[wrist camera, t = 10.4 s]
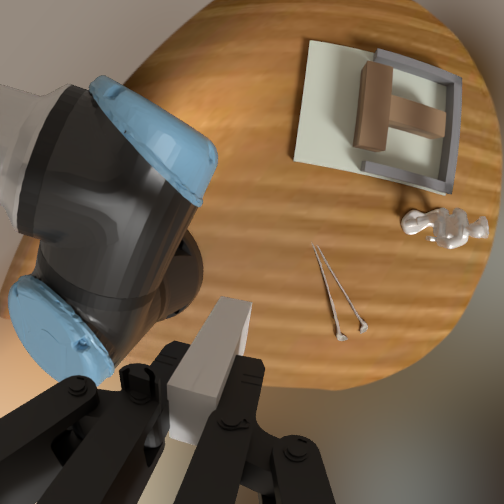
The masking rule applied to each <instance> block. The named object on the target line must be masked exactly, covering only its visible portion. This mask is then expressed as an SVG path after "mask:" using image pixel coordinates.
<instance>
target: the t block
mask: <svg viewBox="0 0 504 504" xmlns="http://www.w3.org/2000/svg"><path fill="white" fill-rule="evenodd" d="M392 81H393V67H391V66H388V65H384V64H380V63H377V62H373V61H369V60H367V62H366V64H365V65H364V67H363V68H362V70H361V77H360V88H359V98H358V107H357V116H356V124H355V132H354V139H353V146H352V147H354V148H359V149H363V150H368V151H372V152H381V151H385V150H386V142H387V134H388V127H390V128H394V129H398V130H401V131H405V132H408V133H411V134H415V135H418V136H421V137H424V138H428V139H436V138H442V137H444V136H445V124H446V112H443V111H441V110H438V109H435V108H432V107H429V106H427V105H424V104H421V103H417V102H414V101H411V100H408V99H405V98H401V97H398V96H395V95H392Z"/></svg>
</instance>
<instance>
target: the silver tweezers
mask: <svg viewBox="0 0 504 504" xmlns="http://www.w3.org/2000/svg"><path fill="white" fill-rule="evenodd" d="M312 245H313V243H312ZM317 246H318V245H317ZM313 248H314V251H315V253H316V256H317V259H318V262H319V265H320V268H321V271H322V274H323V277H324V280H325V283H326V287H327V290H328V294H329V298H330V302H331V306H332V310H333V314H334V319H335V322H336V326H337V334H336V336H337V340H339V341H344V340H347V339H348V338H347V337H346V336H345V335H343V334H341V332H340V328H339V323H338V319H337V315H336V311H335V307H334V303H333V300H332V298H331V295H330V292H329V288H328V285H327V281H326V278H325V275H324V271H323V269H322V264H321V262H320V260H319V257H318V254H317V252H316V250H315V247H314V245H313ZM318 249H319V251H320V253H321V255H322V257H323V260H324V261H325V263H326V265H327V266H328V268H329V270H330V271H331V272H332V274H333V276H334V278H335V279H336V281H337V282H338V284H339V286H340V288H341V289H342V291H343V292H344V294H345V296H346V298H347V300H348V302H349V304H350V305H351V307H352V309H353V311H354V313H355V314H356V316H357V317H358V319H359V321H360V322H361V325H362V326H361V330H360V334H362V333H364V332H366V330H367V329H368V325H367V323H366V322H365V321H363V320H362V319H361V318H360V316H359V315H358V313H357V312H356V310H355V308H354V306H353V304H352V303H351V301H350V299H349V298H348V296H347V294H346V293H345V291H344V289H343V288H342V286H341V284H340V283H339V281H338V279H337V278H336V276H335V274H334V273H333V271H332V269H331V268H330V266H329V264H328V262H327V261H326V259H325V257H324V255H323V254H322V252H321V250H320V248H319V247H318Z"/></svg>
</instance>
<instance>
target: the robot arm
mask: <svg viewBox="0 0 504 504" xmlns="http://www.w3.org/2000/svg"><path fill="white" fill-rule="evenodd" d="M89 88H90V89H89V90H86V89H83V88H80V87H77V86H74V85H71V84H66V85H64V86H62V87H60V88H58V89H57V90H55V91H53V92H51V93H49V94H47V95H44V96H38V95H35V94H32V93H29V92H25V91H22V90H19V89H15V88H12V87H8V86H5V85H1V84H0V205H1V206H3V207H4V208H5V210H6V213H7V215H8V217H9V219H10V222H11V224H12V226H13V228H14V230H15V231H16V232H18V233H21V234H24V235H27V236H31V237H34V238H36V239H40V244H39V249H38V255H37V260H36V266H35V269H34V271H33V272H32V274H30V275H25V276H21V277H20V278H19V279H18V281H17V282H16V283H14V284H13V285H12V287H11V289H10V291H9V295H8V308H9V314H10V318H11V321H12V323H13V326H14V329H15V331H16V333H17V335H18V337H19V339H20V341H21V342H22V344H23V346H24V347H25V349H26V350H27V352H28V353H29V354H30V355H31V357H32V358H33V359H34V360H35V362H36V363H37V364H38V365H39V366H40V367H41V368H42V369H43V370H44V371H45V372H46V373H47V374H49V375H50V376H51V377H52V378H54V379H55V380H57V381H58V382H59V383H57V384H56V385H54V386H52V387H51V388H49V389H47V390H46V391H44V392H43V393H41V394H39V395H38V396H36V397H35V398H33V399H31V400H30V401H28V402H27V403H25V404H23V405H21V406H20V407H18V408H17V409H15V410H13V411H12V412H10V413H8V414H7V415H5V416H4V417H2V418H0V504H35V503H36V502H37V503H36V504H137V503H138V501H139V499H140V497H141V495H142V493H143V490H144V489H145V486H146V485H147V483H148V481H149V479H150V477H151V474H152V473H153V471H154V468H155V466H156V464H157V462H158V460H159V458H160V456H161V454H162V452H163V450H164V447H165V437H166V435H167V433H168V431H169V434H170V438H172V439H176V440H179V441H182V442H185V443H189V444H192V445H196V446H197V447H196V450H195V452H194V454H193V457H192V459H191V462H190V464H189V467H188V469H187V472H186V474H185V477H184V479H183V482H182V484H181V486H180V489H179V491H178V494H177V496H176V498H175V501H174V503H173V504H235V501H236V497H237V493H238V489H239V485H240V484H241V485H243V486H245V487H247V488H249V489H251V490H253V491H256V492H258V497H259V504H336V503H335V500H334V496H333V493H332V490H331V487H330V484H329V480H328V477H327V474H326V470H325V467H324V464H323V461H322V458H321V454H320V452H319V449H318V447H317V446H316V444H315V443H314V442H313V441H311V440H310V439H308V438H306V437H303V436H298V435H289V436H284V437H282V438H281V439H279V438H277V437H275V436H272V435H270V434H268V433H267V432H265V431H264V430H262V429H261V428H260V426H259V425H258V423H257V421H256V410H257V405H258V401H259V396H260V392H261V387H262V382H263V377H264V372H265V367H264V365H263V362H262V360H261V359H256V358H251V357H246V356H243V354H244V351H245V345H246V339H247V333H248V327H249V320H250V314H251V308H252V302H248V301H243V300H238V299H233V298H228V297H223V296H221V297H220V299H219V300H218V302H217V304H216V305H215V307H214V308H213V310H212V312H211V313H210V315H209V316H208V318H207V320H206V321H205V323H204V325H203V326H202V328H201V329H200V331H199V333H198V334H197V336H196V338H195V339H194V341H193V342H192V344H191V345H190V344H186V343H182V342H178V341H173V342H171V343H169V344H167V345H166V346H164V348H163V349H162V350H161V352H160V353H159V355H158V356H157V357H156V358H155V361H153V363H152V364H151V365H150V366H149V365H146V364H141V363H135V364H129V365H126V366H124V367H122V368H121V369H120V370H119V375H120V381H121V388H122V390H121V391H109V390H101V389H97V386H99V385H100V384H101V383H102V382H103V381H104V380H105V379H106V378H107V377H111V375H113V373H114V369H115V368H116V367H117V366H118V365H119V364H120V363H121V361H122V360H123V359H124V358H125V357H126V356H127V355H128V353H129V352H130V351H131V350H132V349H133V348H134V347H135V345H136V344H137V343H138V342H139V341H140V340H141V339H142V338H143V336H144V335H145V334H146V333H147V332H148V331H149V330H150V329H151V328H152V326H153V325H154V324H155V323H156V322H159V321H162V320H165V319H167V318H171V317H173V316H176V315H178V314H179V313H181V312H182V311H184V310H185V309H186V308H187V307H188V306H189V305H190V304H191V302H192V301H193V300H194V298H195V297H196V296H197V294H198V292H199V290H200V287H201V284H202V280H203V261H202V257H201V253H200V250H199V248H198V246H197V243H196V242H195V240H194V238H193V237H192V235H191V234H190V233H189V232H188V230H187V228H188V226H189V224H190V222H191V220H192V218H193V216H194V214H195V212H196V211H197V209H198V207H201V205H202V203H203V199H202V198H203V195H204V193H205V191H206V188H207V186H208V184H209V182H210V180H211V178H212V176H213V174H214V172H215V170H216V167H217V164H218V153H217V150H216V147H215V145H214V144H213V143H212V141H211V140H209V139H208V138H207V137H206V136H204V135H203V134H201V133H200V132H198V131H197V130H195V129H194V128H192V127H191V126H189V125H188V124H186V123H185V122H183V121H182V120H180V119H178V118H177V117H175V116H174V115H172V114H170V113H169V112H167V111H166V110H164V109H162V108H161V107H159V106H157V105H156V104H154V103H153V102H151V101H149V100H148V99H146V98H144V97H142V96H141V95H139V94H137V93H136V92H134V91H132V90H130V89H128V88H127V87H125V86H123V85H121V84H120V83H118V82H116V81H114V80H113V79H111V78H109V77H107V76H104V75H101V76H99V77H97V78H96V79H95V80H94V81H93V82H91V83H90V85H89Z"/></svg>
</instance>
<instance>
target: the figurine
mask: <svg viewBox="0 0 504 504" xmlns="http://www.w3.org/2000/svg"><path fill="white" fill-rule="evenodd" d="M401 225H402V229H403V231H404V232H405V233H406V234H409V235H412V234H416V233H418V232H419V231H421V230H423V229H424V228H426V227H428V226H431V227H433V233H434V236H437V237H431V236H426V240H428V241H436V242H437V245H438V246H441V247H444V248H447V249H453V248H456V247H459V246H462V245H464V244H465V243H466V242H467V241H468V236H469V235H470V236H471V237H475V238H480V237H482V238H488V234H489V231H488V230H489V226H488V220H487V219H486V217H484V216H482V217H480V218H479V219H478V220H477V221H475V222H474V223H471V224H469V223H468V219H467V214H466V212H465V211H464V210H462V209H460V208H454V209H453V214H452V215H449V211H448V210H447V209H445V208H440V209H435V210H433V211H430V212H428V213H422V212H420V211H417V210H411V211H409V212H408V213H407V214H406V215H405V216H404V217H403V219H402V222H401Z"/></svg>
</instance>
